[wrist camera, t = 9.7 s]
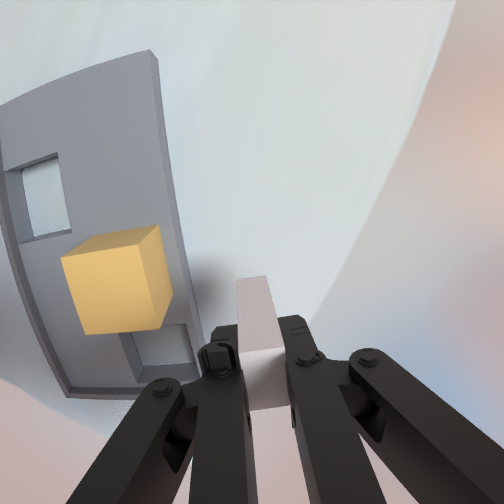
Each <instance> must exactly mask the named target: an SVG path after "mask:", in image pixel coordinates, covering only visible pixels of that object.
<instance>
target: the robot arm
mask: <svg viewBox="0 0 504 504" xmlns="http://www.w3.org/2000/svg"><path fill="white" fill-rule="evenodd" d="M237 320H238V324H235V325H227V326H219V327H216V328H215V330H214V331H213V332H212V333H211V342H210V343H209V344H206V345H204V346H203V347H202V348H200V349H199V351H198V353H197V356H198V360H199V364H200V367H201V371H202V377H201V378H199V379H197V380H195V381H193V382H190V383H187V384H183V385H180V382H179V381H177V380H176V379H174V378H170V377H168V378H159V379H155V380H154V381H152V382H150V383H149V384H148V385H147V386H146V387H145V388H144V389H143V391H142V392H141V394H140V395H139V397H138V398H137V399H136V401H135V402H134V404H133V405H132V407H131V408H130V410H129V411H128V412H127V414H126V415H125V417H124V418H123V420H122V421H121V423H120V424H119V426H118V427H117V429H116V430H115V431H114V433H113V434H112V436H111V437H110V439H109V440H108V442H107V443H106V445H105V446H104V448H103V449H102V451H101V452H100V453H99V455H98V456H97V458H96V459H95V461H94V462H93V464H92V465H91V467H90V468H89V470H88V471H87V473H86V474H85V476H84V477H83V478H82V480H81V481H80V483H79V484H78V486H77V487H76V489H75V490H74V492H73V494H72V495H71V496H70V498H69V499H68V501H67V502H66V504H172V503H173V501H174V498H175V496H176V494H177V491H178V489H179V487H180V484H181V482H182V480H183V477H184V475H185V473H186V470H187V468H188V466H189V463H190V461H191V459H192V456H193V460H192V471H191V481H190V493H189V504H258V496H257V485H256V473H255V461H254V449H253V438H252V425H251V417H250V412H249V410H250V411H252V410H260V409H268V408H275V407H281V406H288V405H291V417H292V428H294V430H295V434H296V439H297V444H298V449H299V453H300V458H301V462H302V467H303V472H304V477H305V481H306V486H307V490H308V495H309V500H310V504H387V503H386V500H385V498H384V495H383V493H382V490H381V488H380V486H379V483H378V480H377V478H376V475H375V473H374V470H373V468H372V465H371V463H370V460H369V458H368V456H367V453H366V451H365V448H364V446H363V443H362V441H361V439H360V436H359V434H360V435H361V436H362V437H363V439H364V440H365V441H366V442H367V443H368V445H369V446H370V447H371V448H372V449H373V451H374V452H375V453H376V454H377V455H378V456H379V458H380V459H381V460H382V461H383V462H384V463H385V465H386V466H387V467H388V468H389V470H390V471H391V472H392V473H393V474H394V475H395V477H396V478H397V479H398V480H399V481H400V482H401V483H402V484H403V486H404V487H405V488H406V489H407V490H408V492H409V493H410V494H411V495H412V496H413V497H414V498H415V500H416V501H417V502H418V503H419V504H504V449H503V448H502V447H501V446H499V445H498V444H497V443H496V442H494V441H493V440H492V439H491V438H490V437H488V436H487V435H486V434H485V433H483V432H482V431H481V430H479V429H478V428H477V427H476V426H475V425H473V424H472V423H471V422H470V421H468V420H467V419H466V418H465V417H464V416H462V415H461V414H460V413H459V412H457V411H456V410H455V409H454V408H452V407H451V406H450V405H449V404H447V403H446V402H445V401H443V400H442V399H441V398H440V397H439V396H438V395H436V394H435V393H434V392H433V391H431V390H430V389H429V388H427V387H426V386H425V385H424V384H423V383H421V382H420V381H419V380H418V379H416V378H415V377H414V376H413V375H411V374H410V373H409V372H408V371H407V370H405V369H404V368H403V367H402V366H400V365H399V364H398V363H397V362H395V361H394V360H393V359H392V358H390V357H389V356H388V355H387V354H385V353H384V352H382V351H380V350H378V349H373V348H364V349H360V350H357V351H355V352H354V353H352V355H351V356H350V358H349V361H338V360H331V359H327V358H326V356H325V355H324V354H323V353H322V352H320V351H319V350H318V349H317V347H316V344H315V342H314V340H313V337H312V335H311V333H310V330H309V328H308V326H307V323H306V321H305V319H303V318H302V317H301V316H299V315H292V316H286V317H279V318H277V316H276V312H275V308H274V304H273V301H272V297H271V293H270V289H269V286H268V282H267V278H266V276H259V277H252V278H245V279H238V280H237ZM358 433H359V434H358Z"/></svg>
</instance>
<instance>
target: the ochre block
mask: <svg viewBox="0 0 504 504" xmlns="http://www.w3.org/2000/svg"><path fill="white" fill-rule="evenodd" d="M61 262H62V266H63V269H64V272H65V276H66V279H67V282H68V286H69V289H70V292H71V295H72V298H73V301H74V304H75V307H76V310H77V313H78V316H79V318H80V321H81V324H82V326H83V329H84V332H85V334H86V335H92V334H107V333H121V332H134V331H145V330H156V329H160V327H161V325H162V322H163V319H164V317H165V314H166V312H167V309H168V306H169V304H170V301H171V299H172V296H173V289H172V284H171V280H170V276H169V271H168V267H167V262H166V258H165V253H164V248H163V243H162V238H161V233H160V228H159V224H157V225H151V226H145V227H139V228H134V229H128V230H122V231H117V232H111V233H106V234H101V235H95V236H92V237H91V238H89V239H88V240H86V241H85V242H83V243H82V244H80V245H79V246H77V247H75V248H74V249H72V250H71V251H69V252H68V253H66V254H65V255H64V256H62V257H61Z"/></svg>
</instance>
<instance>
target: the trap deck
mask: <svg viewBox="0 0 504 504" xmlns="http://www.w3.org/2000/svg"><path fill="white" fill-rule="evenodd" d="M57 156H58V159H59V166H60V173H61V179H62V185H63V191H64V196H65V202H66V207H67V212H68V217H69V221H70V226H71V229H67V230H62V231H58V232H53V233H49V234H44V235H40V236H36V237H34V236H33V232H32V227H31V223H30V218H29V214H28V209H27V203H26V198H25V192H24V187H23V180H22V174H21V169H23V168H25V167H28V166H31V165H33V164H36V163H39V162H42V161H45V160H48V159H51V158H54V157H57ZM157 224H159V228H160V233H161V238H162V243H163V248H164V253H165V258H166V262H167V267H168V271H169V276H170V280H171V284H172V289H173V296H172V299H171V301H170V304H169V306H168V309H167V312H166V314H165V317H164V319H163V322H162V325H161V326H165V325H175V324H184V323H186V326H187V330H188V334H189V338H190V341H191V345H192V349H193V353H194V356H195V360H196V363H190V364H179V365H165V366H150V367H143V365H142V362H141V360H140V357H139V354H138V351H137V349H136V346H135V343H134V340H133V337H132V334H131V332H121V333H107V334H92V335H86V334H85V332H84V329H83V326H82V324H81V321H80V318H79V316H78V313H77V310H76V307H75V304H74V301H73V298H72V295H71V292H70V289H69V286H68V282H67V279H66V276H65V272H64V269H63V266H62V262H61V257H62V256H64V255H65V254H66V253H68V252H69V251H71V250H72V249H74V248H75V247H77V246H79V245H80V244H82V243H83V242H85V241H86V240H88V239H89V238H91V237H92V236H95V235H101V234H106V233H111V232H117V231H122V230H128V229H134V228H139V227H145V226H151V225H157ZM0 225H1V229H2V233H3V238H4V242H5V246H6V249H7V253H8V257H9V260H10V264H11V267H12V271H13V274H14V277H15V280H16V283H17V286H18V289H19V292H20V295H21V298H22V301H23V304H24V306H25V309H26V312H27V314H28V317H29V320H30V322H31V325H32V327H33V329H34V332H35V334H36V337H37V339H38V341H39V344H40V346H41V348H42V350H43V352H44V355H45V357H46V359H47V361H48V363H49V365H50V367H51V369H52V371H53V373H54V375H55V377H56V379H57V381H58V383H59V385H60V387H61V389H62V390H63V392H64V394H65V396H66V398H79V399H106V400H136V399H137V398H138V397H139V395H140V394H141V392H142V391H143V389H144V388H145V387H146V386H147V385H148V384H149V383H150V382H152V381H154V380H155V379H159V378H168V377H170V378H174V379H176V380H177V381H179V382H180V385H183V384H187V383H190V382H193V381H195V380H197V379H199V378H201V377H202V371H201V367H200V364H199V360H198V356H197V353H198V351H199V349H200V348H202V347H203V346H204V345H205V340H204V336H203V332H202V328H201V323H200V319H199V315H198V310H197V306H196V301H195V296H194V292H193V287H192V282H191V278H190V273H189V268H188V263H187V258H186V253H185V247H184V242H183V237H182V231H181V226H180V220H179V214H178V209H177V203H176V197H175V191H174V184H173V178H172V172H171V165H170V158H169V151H168V144H167V137H166V129H165V121H164V113H163V105H162V96H161V87H160V77H159V66H158V59H157V58H156V57H155V55H154V54H153V53H152V51H151V50H146V51H142V52H138V53H134V54H130V55H127V56H123V57H120V58H116V59H113V60H110V61H106V62H103V63H100V64H97V65H94V66H91V67H88V68H85V69H83V70H80V71H77V72H74V73H72V74H69V75H66V76H64V77H61V78H59V79H56V80H54V81H52V82H49V83H47V84H45V85H42V86H40V87H38V88H36V89H33V90H31V91H29V92H27V93H25V94H23V95H21V96H19V97H17V98H15V99H13V100H11V101H9V102H7V103H5V104H3V105H1V106H0Z"/></svg>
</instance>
